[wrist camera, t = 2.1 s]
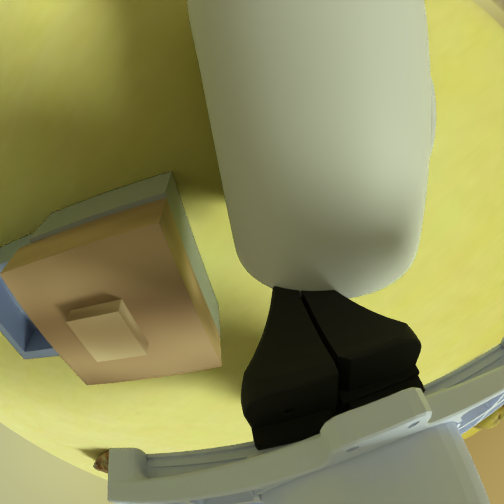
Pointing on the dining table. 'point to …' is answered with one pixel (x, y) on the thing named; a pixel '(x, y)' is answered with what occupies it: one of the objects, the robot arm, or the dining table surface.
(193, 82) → the dining table surface
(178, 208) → the stand
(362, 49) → the mug
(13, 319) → the blue open tray
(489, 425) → the fruit
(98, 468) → the rock
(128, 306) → the lid
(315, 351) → the robot arm
